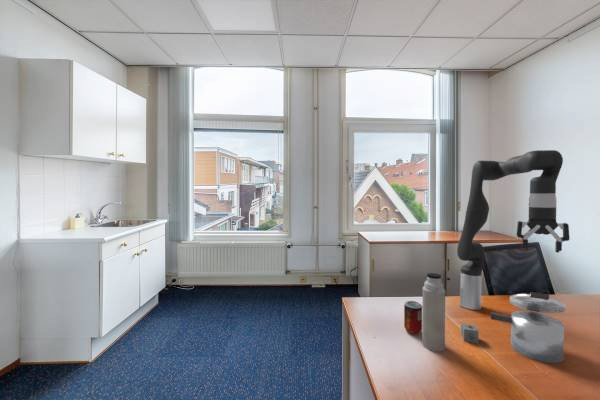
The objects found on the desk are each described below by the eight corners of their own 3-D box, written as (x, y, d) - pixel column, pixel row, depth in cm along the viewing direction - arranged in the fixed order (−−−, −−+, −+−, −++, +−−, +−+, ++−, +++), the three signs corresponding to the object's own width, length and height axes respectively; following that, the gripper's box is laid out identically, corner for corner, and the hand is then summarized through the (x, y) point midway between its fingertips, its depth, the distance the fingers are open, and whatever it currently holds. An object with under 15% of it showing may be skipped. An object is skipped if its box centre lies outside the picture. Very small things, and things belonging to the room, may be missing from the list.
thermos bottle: (421, 338, 114) (421, 270, 113) (443, 341, 111) (443, 272, 110) (423, 349, 106) (423, 276, 105) (446, 353, 104) (447, 278, 103)
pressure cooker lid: (511, 292, 103) (511, 288, 103) (508, 306, 115) (508, 303, 116) (571, 302, 94) (570, 298, 94) (560, 316, 106) (560, 312, 107)
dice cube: (478, 343, 110) (478, 330, 110) (464, 341, 112) (464, 329, 112) (474, 336, 115) (474, 324, 115) (460, 335, 117) (460, 323, 116)
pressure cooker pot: (490, 348, 106) (491, 317, 106) (490, 330, 120) (490, 302, 120) (567, 368, 94) (568, 333, 94) (557, 345, 108) (558, 315, 108)
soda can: (424, 330, 120) (424, 302, 120) (418, 337, 115) (418, 308, 114) (407, 325, 125) (407, 298, 124) (401, 332, 119) (401, 303, 119)
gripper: (518, 206, 101) (517, 250, 102) (572, 207, 94) (571, 255, 94) (516, 205, 108) (515, 247, 108) (566, 206, 100) (565, 251, 100)
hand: (541, 250), depth 101 cm, fingers open, 8 cm apart
